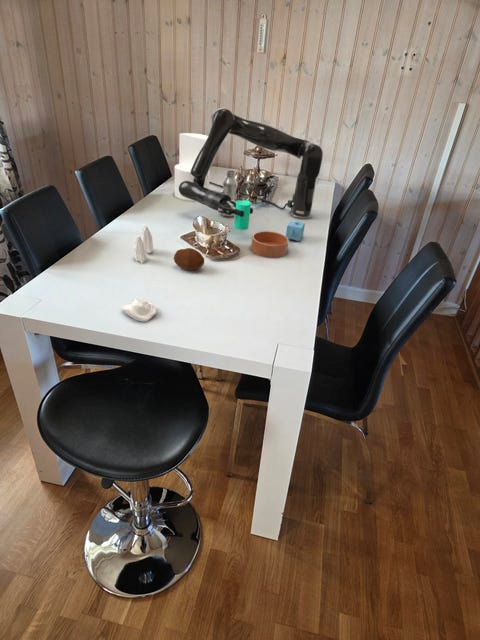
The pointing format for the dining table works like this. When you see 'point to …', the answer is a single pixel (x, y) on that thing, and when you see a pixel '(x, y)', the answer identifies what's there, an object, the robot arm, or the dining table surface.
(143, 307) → the rose
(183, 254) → the potato
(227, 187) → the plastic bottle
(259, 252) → the pot
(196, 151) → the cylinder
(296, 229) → the teapot
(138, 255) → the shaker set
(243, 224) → the candle
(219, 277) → the dining table surface
